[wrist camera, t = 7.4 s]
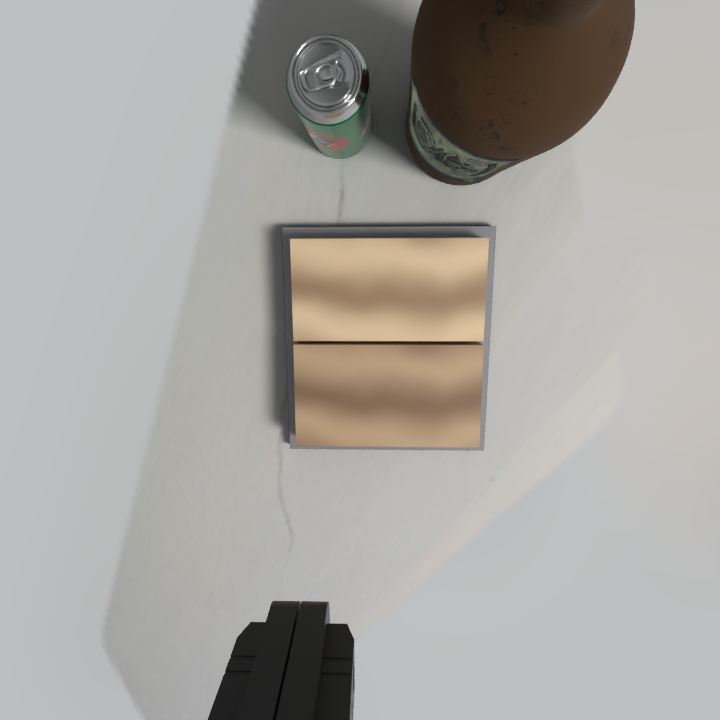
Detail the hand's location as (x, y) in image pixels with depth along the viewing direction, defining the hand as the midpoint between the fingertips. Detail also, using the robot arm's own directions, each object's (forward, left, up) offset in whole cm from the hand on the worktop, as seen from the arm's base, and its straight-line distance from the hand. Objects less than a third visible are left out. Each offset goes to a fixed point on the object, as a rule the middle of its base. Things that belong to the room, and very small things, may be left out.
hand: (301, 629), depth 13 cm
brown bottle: (-20, +9, -32) cm, 39 cm away
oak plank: (-7, +3, -32) cm, 33 cm away
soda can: (-20, -1, -32) cm, 38 cm away
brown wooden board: (+2, +3, -31) cm, 31 cm away
